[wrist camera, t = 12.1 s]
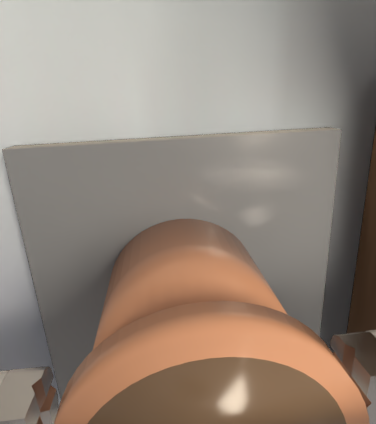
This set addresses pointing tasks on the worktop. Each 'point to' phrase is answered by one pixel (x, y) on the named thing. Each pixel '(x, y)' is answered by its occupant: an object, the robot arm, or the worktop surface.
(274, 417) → the terracotta pot
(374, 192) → the frame
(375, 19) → the worktop surface
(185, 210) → the slate tile
